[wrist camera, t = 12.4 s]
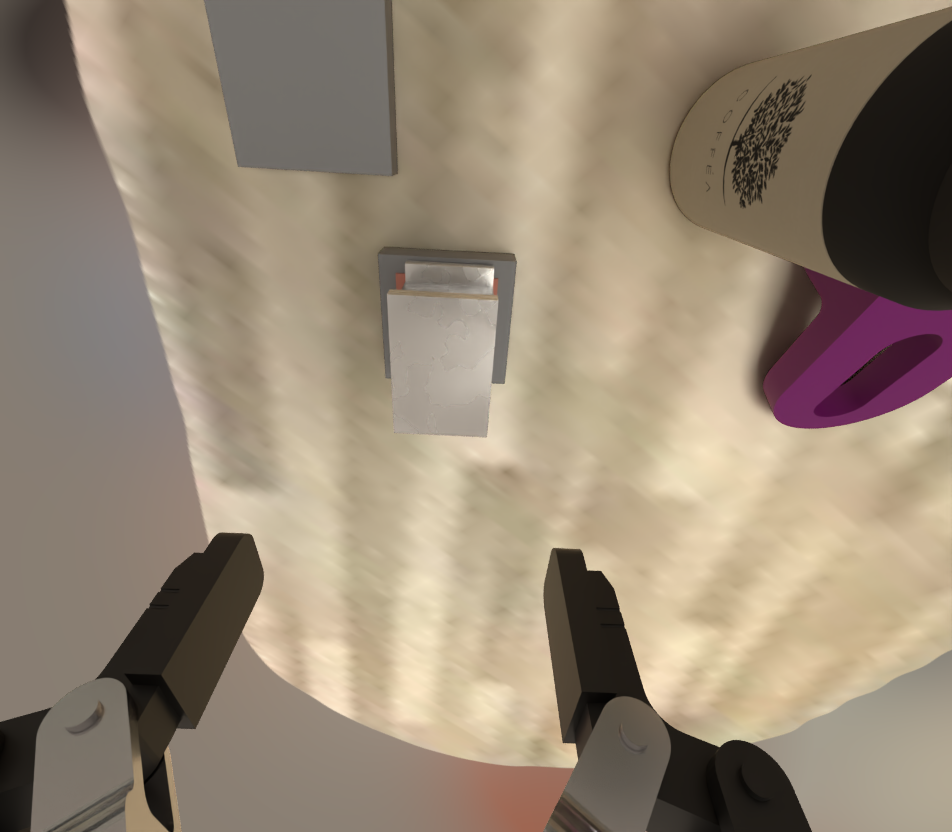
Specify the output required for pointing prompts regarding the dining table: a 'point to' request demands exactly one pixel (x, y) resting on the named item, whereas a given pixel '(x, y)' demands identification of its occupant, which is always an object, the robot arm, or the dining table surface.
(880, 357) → the mounting bracket
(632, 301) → the dining table surface
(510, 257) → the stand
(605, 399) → the dining table surface
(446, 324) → the housing
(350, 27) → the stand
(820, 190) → the travel mug
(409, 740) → the dining table surface
